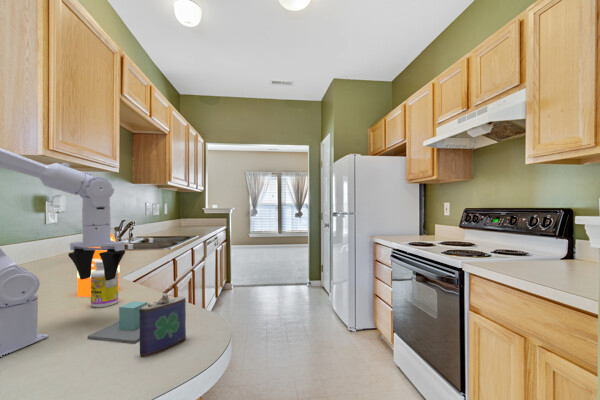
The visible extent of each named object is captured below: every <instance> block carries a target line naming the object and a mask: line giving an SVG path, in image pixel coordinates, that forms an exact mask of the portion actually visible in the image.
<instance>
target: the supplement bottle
mask: <svg viewBox="0 0 600 400" xmlns="http://www.w3.org/2000/svg"><path fill="white" fill-rule="evenodd" d="M95 266H96V270H94V271H93V272H92V273H91V297H90V306H91V307H92V308H105V307H110V306H112V305H115V304H117V303H118V301H119V290H118V269H117V272H116V276H115V279H112V280H109V281H106V280H105V275H104V266H103V262H102V260H99V261H96V262H95Z"/></svg>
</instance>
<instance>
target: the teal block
mask: <svg viewBox="0 0 600 400" xmlns="http://www.w3.org/2000/svg"><path fill="white" fill-rule="evenodd" d="M146 305H148V302H147V301H134V300H132V301H129V302H128V303H125V304H124V305H123V304H122V305H121V306H119V307H118V321H119V329H122V330H133V331H134V330H136V329H138V328H140V320H139V318H140V314H139V310H140V309H141V308H142V307H143V306H146Z"/></svg>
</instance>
